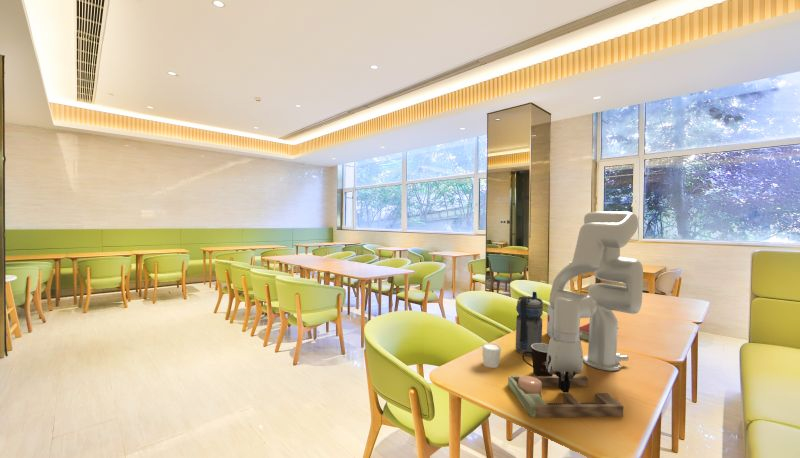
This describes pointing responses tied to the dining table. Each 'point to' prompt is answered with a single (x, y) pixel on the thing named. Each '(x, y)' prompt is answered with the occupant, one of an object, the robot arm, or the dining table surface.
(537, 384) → the pink rounded dome
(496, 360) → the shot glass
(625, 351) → the dining table surface
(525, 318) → the beverage bottle
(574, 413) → the trap lane
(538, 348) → the coffee mug
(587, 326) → the hardcover book
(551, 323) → the supplement box
